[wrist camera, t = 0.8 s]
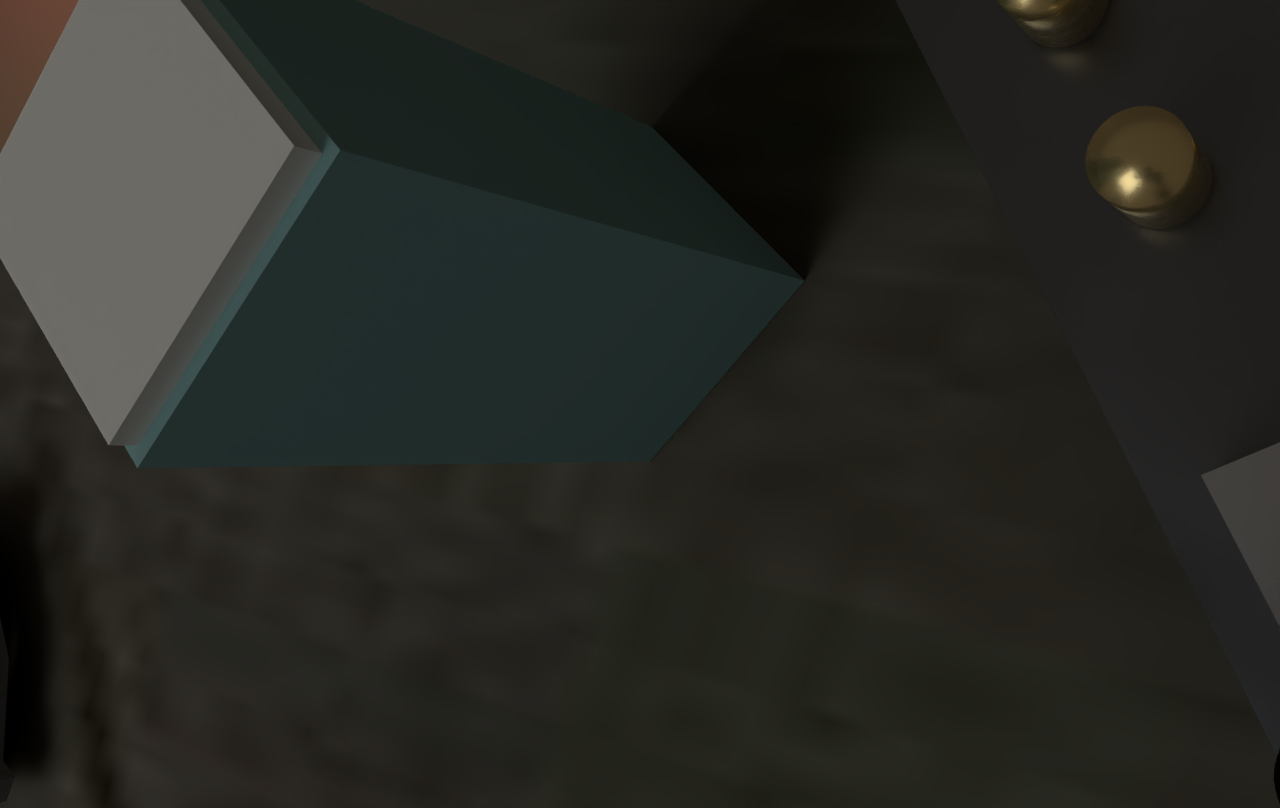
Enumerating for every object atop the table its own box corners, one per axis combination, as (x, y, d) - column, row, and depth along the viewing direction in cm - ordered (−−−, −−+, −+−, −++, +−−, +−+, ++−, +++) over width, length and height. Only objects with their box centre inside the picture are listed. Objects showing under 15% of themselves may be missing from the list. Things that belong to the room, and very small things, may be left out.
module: (804, 280, 23) (312, 142, 13) (650, 461, 25) (108, 468, 15) (651, 126, 25) (120, -100, 15) (519, 303, 27) (-39, 210, 17)
